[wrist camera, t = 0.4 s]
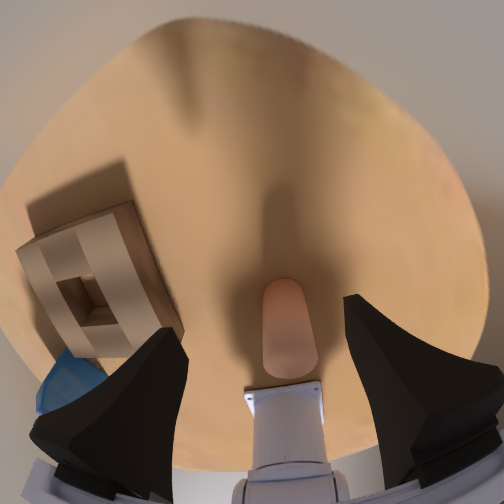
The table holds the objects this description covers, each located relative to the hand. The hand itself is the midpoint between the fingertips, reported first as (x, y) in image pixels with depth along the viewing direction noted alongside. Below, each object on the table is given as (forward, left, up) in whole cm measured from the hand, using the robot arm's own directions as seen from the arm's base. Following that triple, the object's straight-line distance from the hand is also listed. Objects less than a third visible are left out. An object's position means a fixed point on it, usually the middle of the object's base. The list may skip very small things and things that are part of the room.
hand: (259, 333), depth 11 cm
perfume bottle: (-12, +25, -10) cm, 29 cm away
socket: (-1, +14, -10) cm, 17 cm away
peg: (-5, -1, -10) cm, 11 cm away
